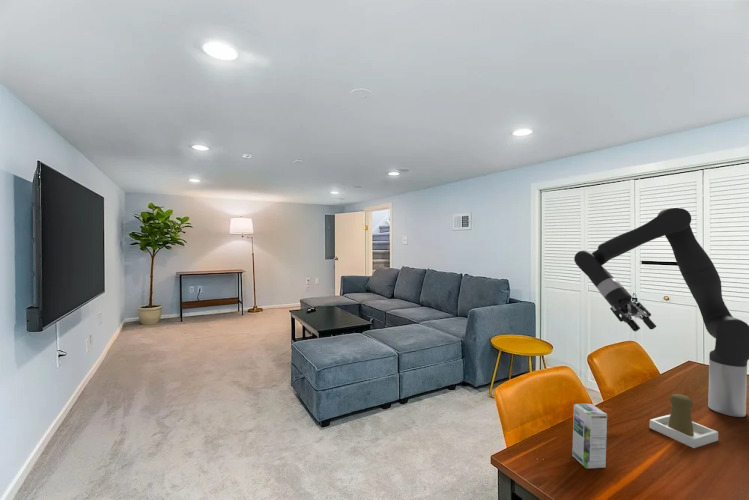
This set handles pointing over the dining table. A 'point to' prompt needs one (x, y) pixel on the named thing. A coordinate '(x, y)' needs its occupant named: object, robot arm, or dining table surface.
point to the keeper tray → (698, 439)
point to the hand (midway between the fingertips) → (645, 329)
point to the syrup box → (589, 436)
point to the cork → (681, 414)
